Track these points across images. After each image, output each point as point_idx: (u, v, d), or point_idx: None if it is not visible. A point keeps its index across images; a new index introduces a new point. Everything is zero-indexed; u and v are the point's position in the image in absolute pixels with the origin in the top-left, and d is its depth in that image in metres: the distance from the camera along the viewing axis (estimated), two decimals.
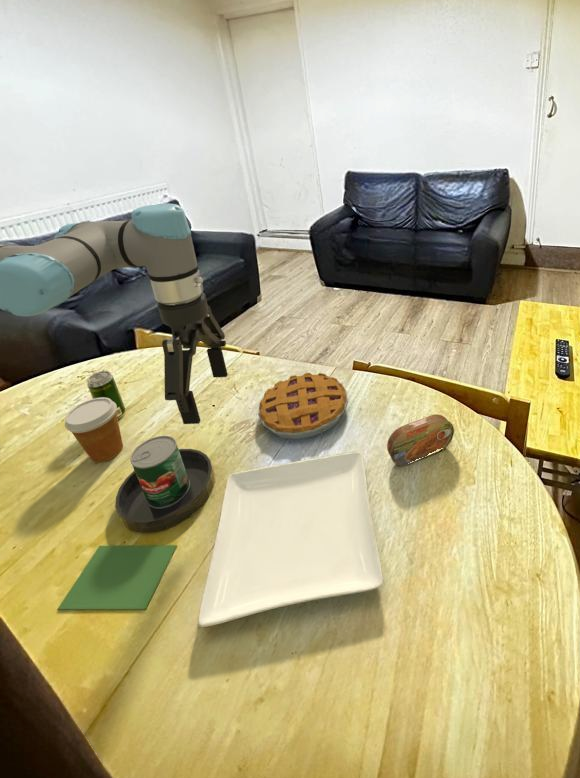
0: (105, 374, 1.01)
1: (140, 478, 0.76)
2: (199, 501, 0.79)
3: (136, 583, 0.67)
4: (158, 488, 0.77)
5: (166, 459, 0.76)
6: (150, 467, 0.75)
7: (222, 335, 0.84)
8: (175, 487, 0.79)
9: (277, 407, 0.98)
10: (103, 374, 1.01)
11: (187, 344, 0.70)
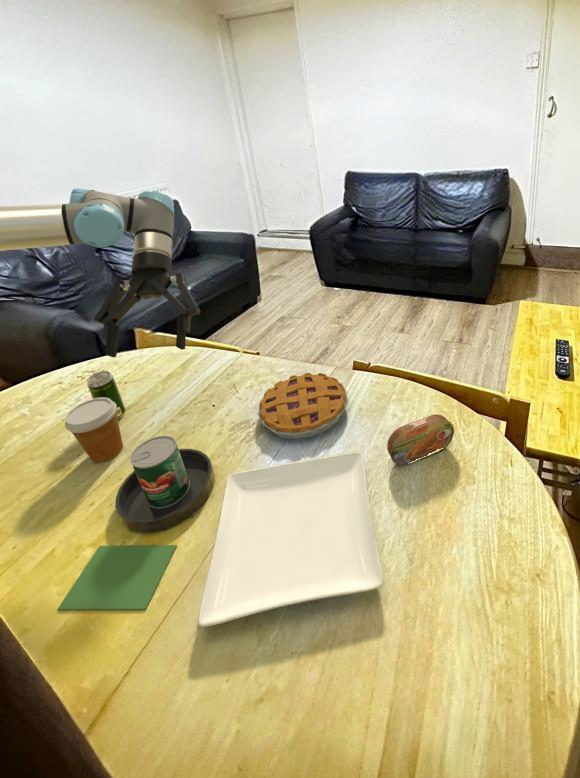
0: (105, 374, 1.01)
1: (140, 478, 0.76)
2: (199, 501, 0.79)
3: (136, 583, 0.67)
4: (158, 488, 0.77)
5: (166, 459, 0.76)
6: (150, 467, 0.75)
7: None
8: (175, 487, 0.79)
9: (277, 407, 0.98)
10: (103, 374, 1.01)
11: (167, 288, 0.89)
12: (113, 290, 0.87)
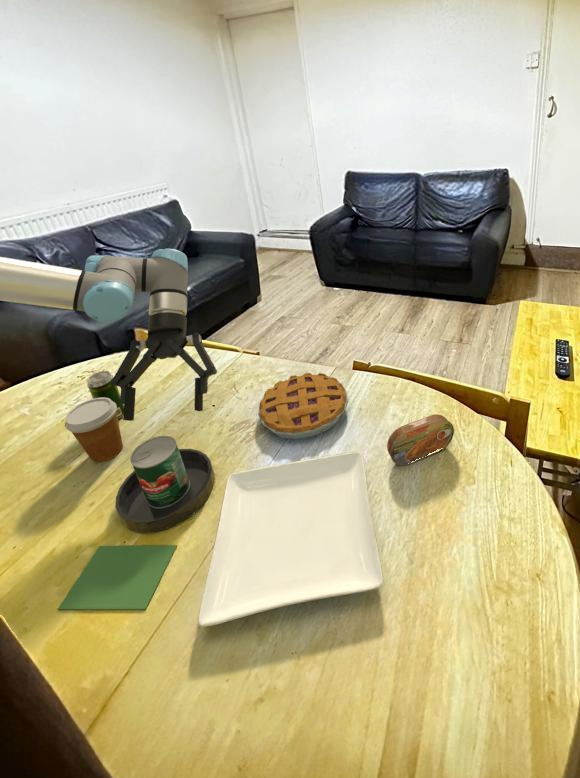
0: (105, 374, 1.01)
1: (140, 478, 0.76)
2: (199, 501, 0.79)
3: (136, 583, 0.67)
4: (158, 488, 0.77)
5: (166, 459, 0.76)
6: (150, 467, 0.75)
7: None
8: (175, 487, 0.79)
9: (277, 407, 0.98)
10: (103, 374, 1.01)
11: None
12: (129, 352, 0.87)
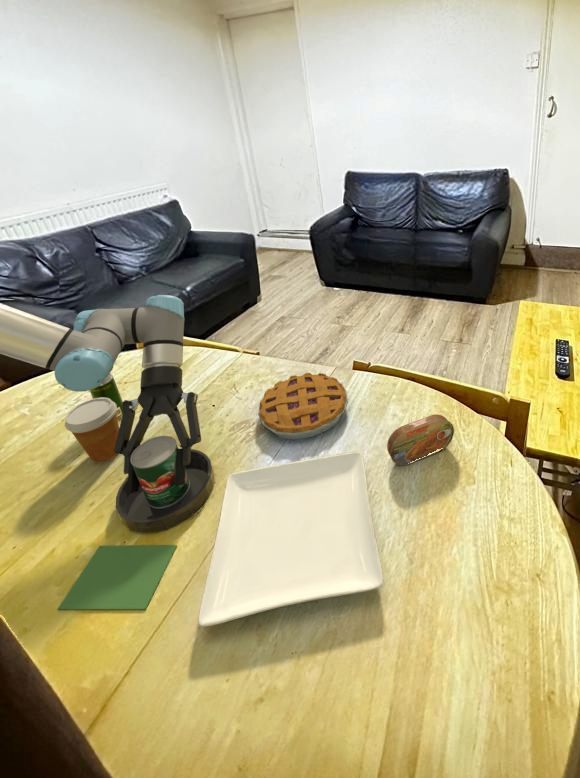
0: None
1: (140, 478, 0.76)
2: (199, 501, 0.79)
3: (136, 583, 0.67)
4: (158, 488, 0.77)
5: (166, 459, 0.76)
6: (150, 467, 0.75)
7: None
8: (175, 487, 0.79)
9: (277, 407, 0.98)
10: None
11: (178, 403, 0.84)
12: (124, 415, 0.81)
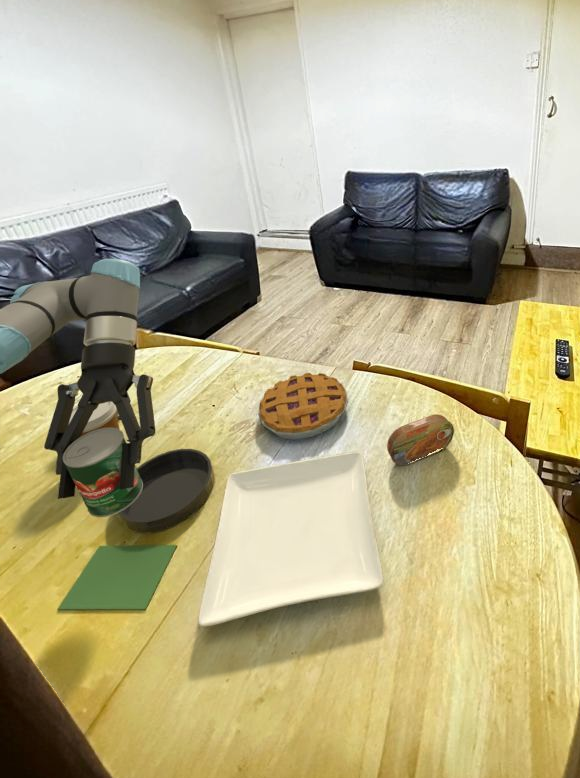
0: None
1: (75, 480, 0.61)
2: (199, 501, 0.79)
3: (136, 583, 0.67)
4: (99, 492, 0.62)
5: (108, 456, 0.61)
6: (86, 466, 0.60)
7: None
8: (121, 491, 0.64)
9: (277, 407, 0.98)
10: None
11: None
12: (59, 402, 0.66)
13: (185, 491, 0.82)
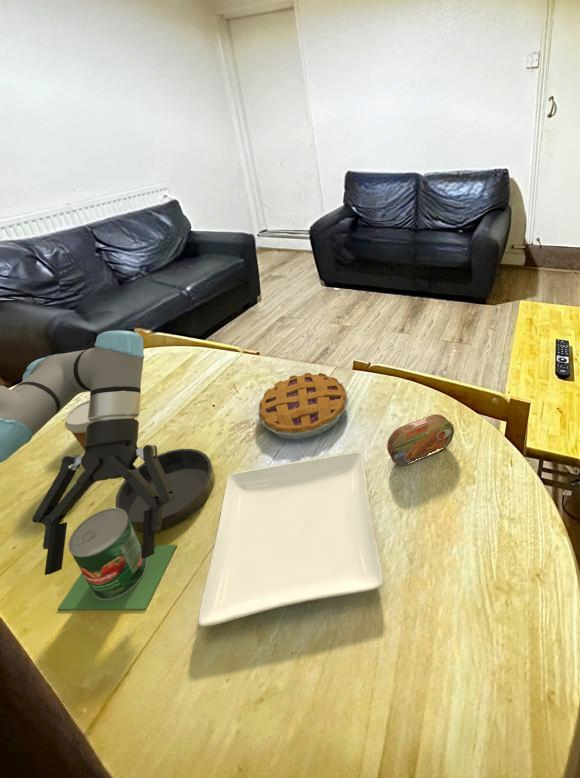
0: None
1: (80, 567, 0.62)
2: (199, 501, 0.79)
3: None
4: (104, 578, 0.63)
5: (113, 543, 0.62)
6: (91, 555, 0.60)
7: None
8: (126, 574, 0.65)
9: (277, 407, 0.98)
10: None
11: (132, 464, 0.69)
12: (59, 475, 0.66)
13: (185, 491, 0.82)
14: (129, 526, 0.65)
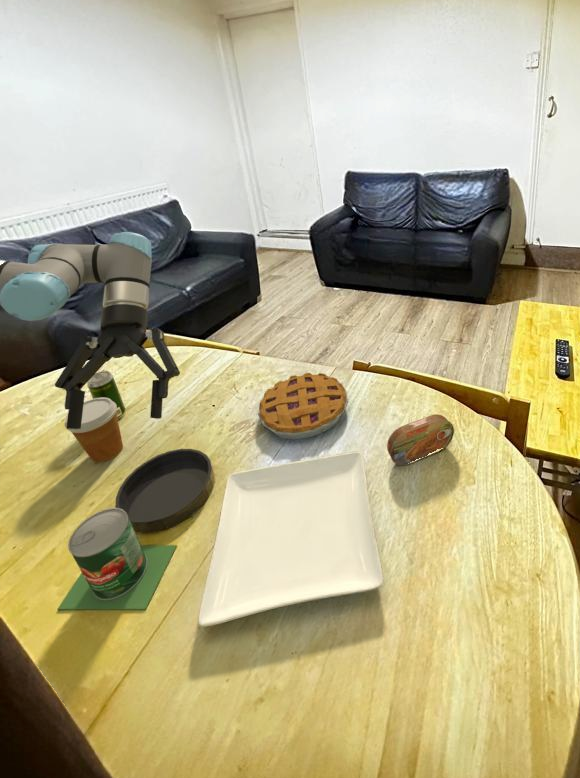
0: (105, 374, 1.01)
1: (80, 567, 0.62)
2: (199, 501, 0.79)
3: None
4: (104, 578, 0.63)
5: (113, 543, 0.62)
6: (91, 555, 0.60)
7: None
8: (126, 574, 0.65)
9: (277, 407, 0.98)
10: (103, 374, 1.01)
11: None
12: (78, 349, 0.75)
13: (185, 491, 0.82)
14: (129, 526, 0.65)
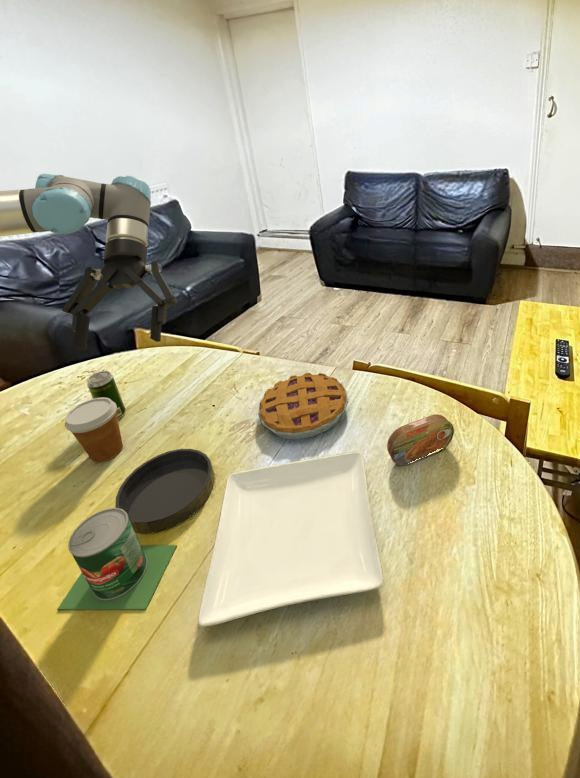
0: (105, 374, 1.01)
1: (80, 567, 0.62)
2: (199, 501, 0.79)
3: None
4: (104, 578, 0.63)
5: (113, 543, 0.62)
6: (91, 555, 0.60)
7: None
8: (126, 574, 0.65)
9: (277, 407, 0.98)
10: (103, 374, 1.01)
11: None
12: (83, 279, 0.82)
13: (185, 491, 0.82)
14: (129, 526, 0.65)
